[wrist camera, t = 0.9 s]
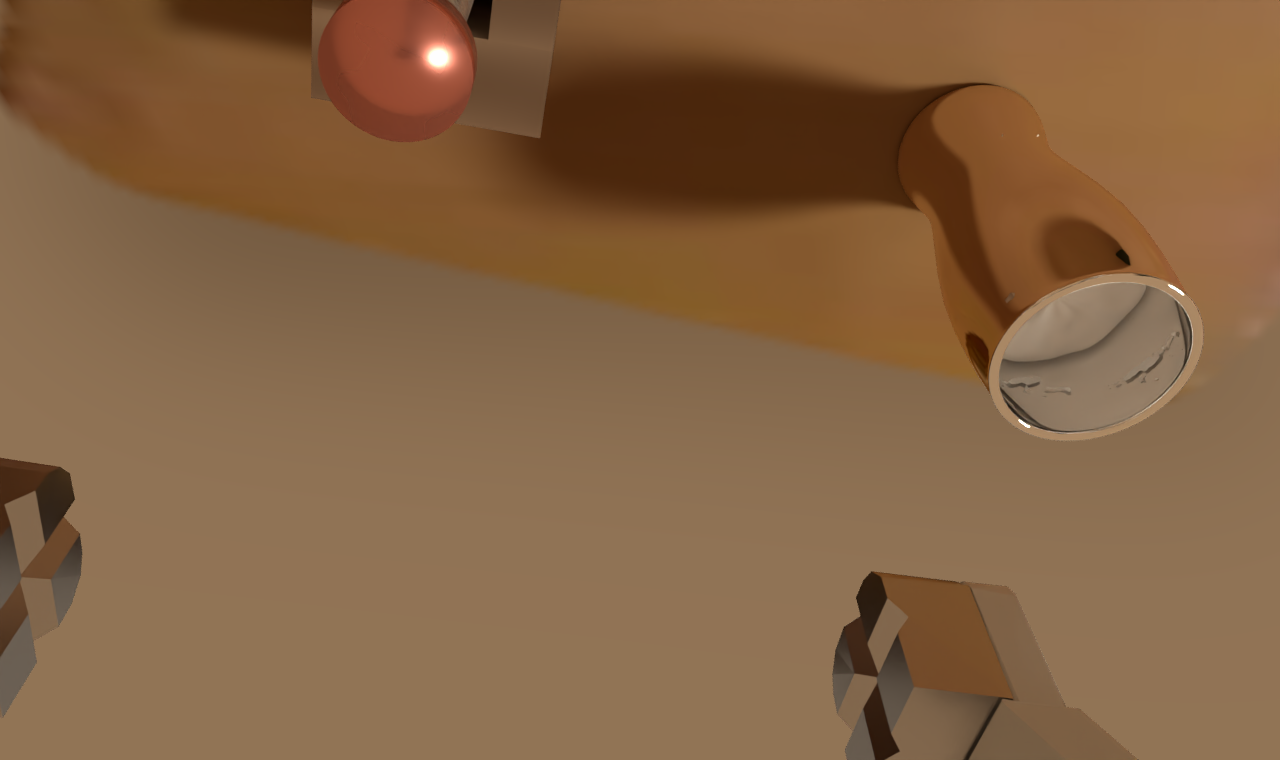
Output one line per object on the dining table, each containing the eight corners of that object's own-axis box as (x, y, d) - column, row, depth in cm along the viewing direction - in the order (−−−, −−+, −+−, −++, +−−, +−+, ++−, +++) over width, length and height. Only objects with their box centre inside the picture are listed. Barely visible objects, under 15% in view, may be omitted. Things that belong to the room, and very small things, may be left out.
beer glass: (1052, 205, 46) (1201, 425, 34) (893, 238, 47) (985, 463, 35) (1052, 55, 42) (1223, 246, 30) (879, 94, 43) (978, 295, 31)
